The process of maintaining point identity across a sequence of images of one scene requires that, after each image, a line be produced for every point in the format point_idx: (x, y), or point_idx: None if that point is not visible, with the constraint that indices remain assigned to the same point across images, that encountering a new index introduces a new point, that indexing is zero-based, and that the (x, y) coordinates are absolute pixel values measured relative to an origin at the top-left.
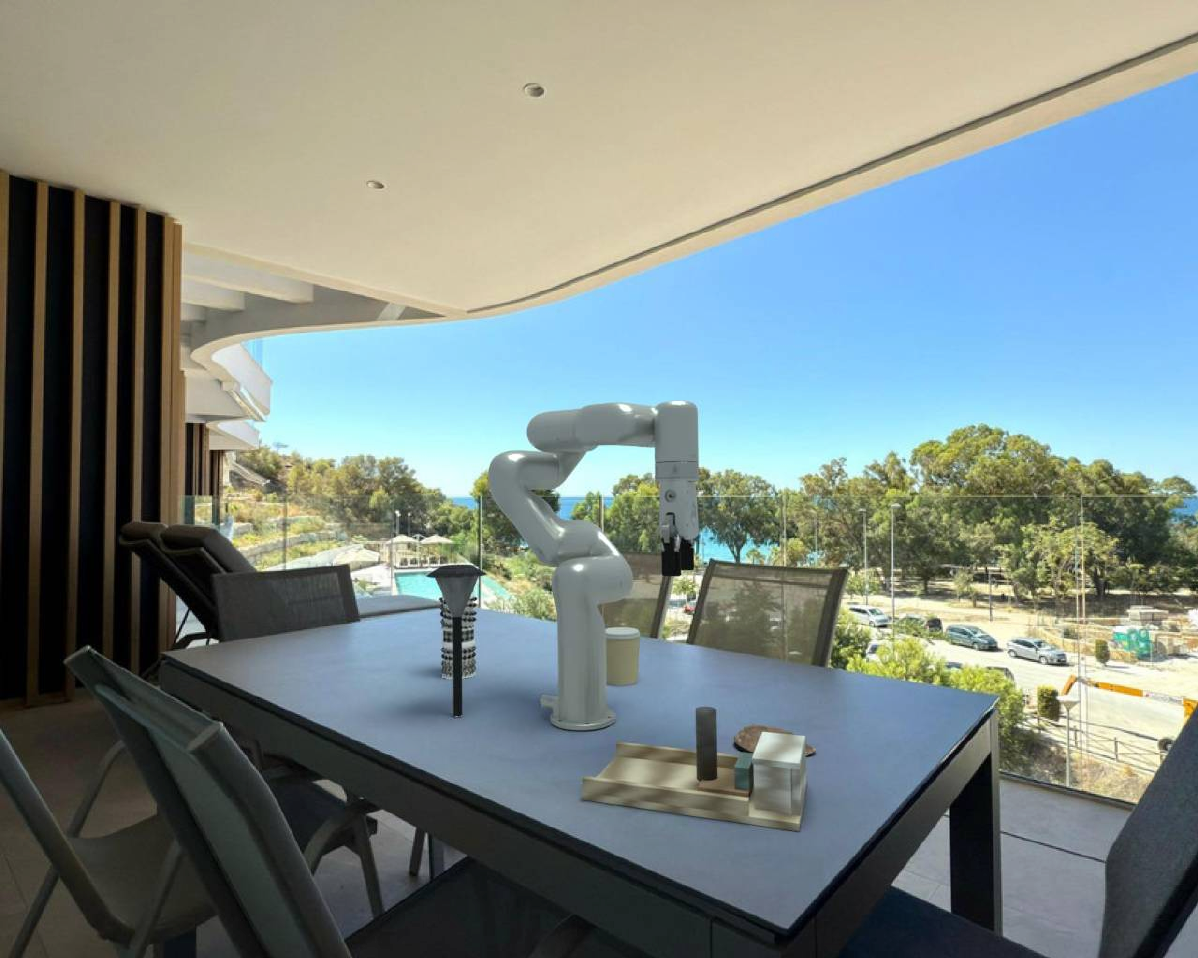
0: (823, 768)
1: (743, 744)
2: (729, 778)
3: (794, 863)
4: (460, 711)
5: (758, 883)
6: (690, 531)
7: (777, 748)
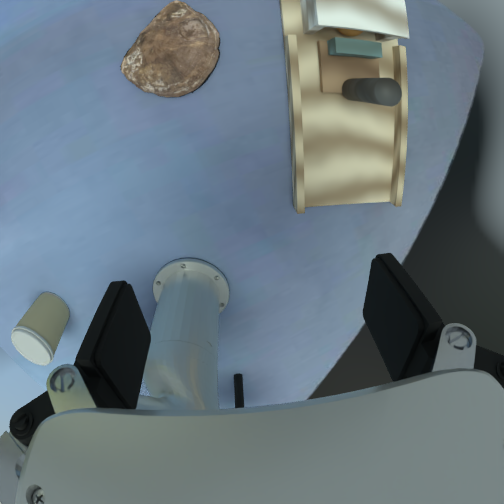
0: None
1: (204, 75)
2: (348, 65)
3: (434, 21)
4: (239, 377)
5: (461, 48)
6: (432, 427)
7: (371, 9)
